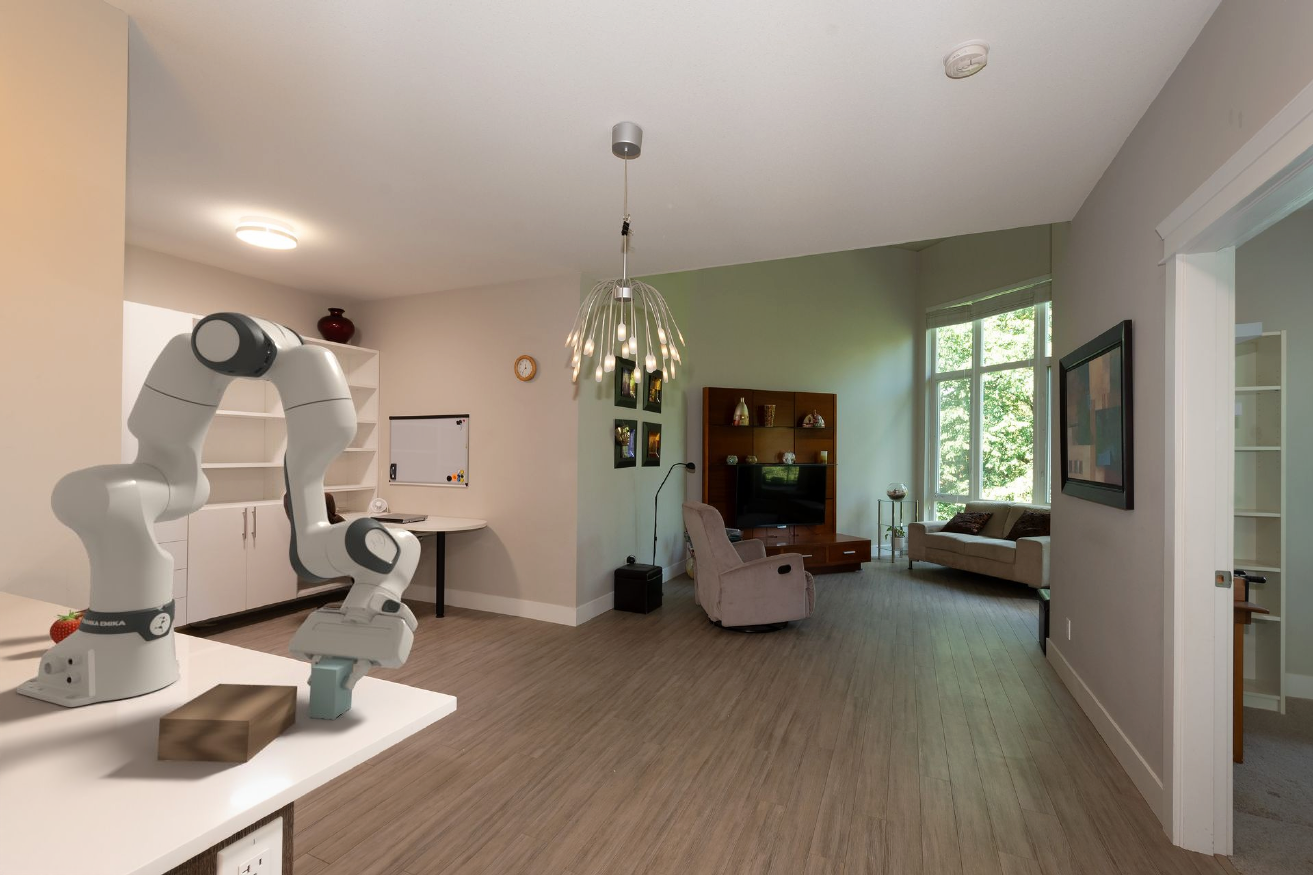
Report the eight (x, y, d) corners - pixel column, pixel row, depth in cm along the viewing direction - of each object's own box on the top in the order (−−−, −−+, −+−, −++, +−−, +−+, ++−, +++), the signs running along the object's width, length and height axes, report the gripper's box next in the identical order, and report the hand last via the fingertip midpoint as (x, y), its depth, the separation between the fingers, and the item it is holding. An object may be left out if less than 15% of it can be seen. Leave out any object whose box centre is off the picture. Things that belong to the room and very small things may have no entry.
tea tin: (308, 717, 97) (311, 667, 97) (326, 705, 101) (329, 657, 101) (333, 719, 96) (336, 669, 96) (351, 708, 101) (353, 660, 101)
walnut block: (157, 762, 82) (159, 718, 83) (217, 721, 94) (219, 683, 95) (246, 764, 83) (249, 720, 83) (295, 723, 95) (297, 685, 95)
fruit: (67, 654, 118) (69, 613, 118) (41, 653, 118) (43, 612, 118) (93, 645, 123) (95, 606, 123) (68, 644, 123) (70, 605, 124)
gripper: (306, 597, 107) (261, 672, 97) (415, 606, 105) (379, 684, 95) (322, 615, 111) (280, 689, 102) (426, 624, 109) (393, 701, 99)
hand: (329, 687), depth 98 cm, fingers closed on tea tin, 4 cm apart
